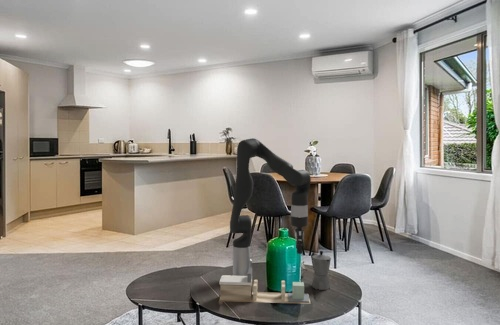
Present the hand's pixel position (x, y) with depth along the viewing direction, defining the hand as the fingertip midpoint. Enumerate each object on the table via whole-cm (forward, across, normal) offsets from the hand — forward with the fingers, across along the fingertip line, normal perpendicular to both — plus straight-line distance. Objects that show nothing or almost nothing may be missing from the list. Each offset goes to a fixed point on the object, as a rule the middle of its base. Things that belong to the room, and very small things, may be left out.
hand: (298, 250), depth 177 cm
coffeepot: (+23, -20, +12) cm, 33 cm away
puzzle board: (+23, 0, -15) cm, 27 cm away
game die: (+23, -35, +2) cm, 42 cm away
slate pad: (+21, 0, 0) cm, 21 cm away
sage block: (+21, 0, 0) cm, 21 cm away
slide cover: (+15, 0, -28) cm, 32 cm away
